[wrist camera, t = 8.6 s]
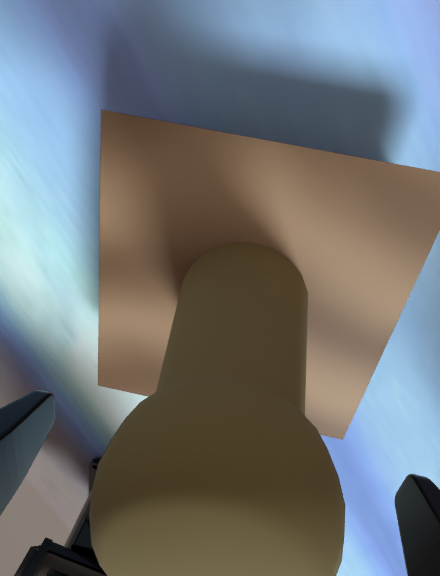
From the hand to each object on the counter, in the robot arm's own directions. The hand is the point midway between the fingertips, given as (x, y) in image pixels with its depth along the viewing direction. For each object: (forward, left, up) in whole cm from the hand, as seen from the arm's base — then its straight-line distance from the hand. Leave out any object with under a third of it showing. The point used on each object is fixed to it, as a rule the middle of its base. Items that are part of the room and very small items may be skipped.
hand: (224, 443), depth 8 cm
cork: (0, 0, -8) cm, 8 cm away
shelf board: (0, 0, -9) cm, 9 cm away
